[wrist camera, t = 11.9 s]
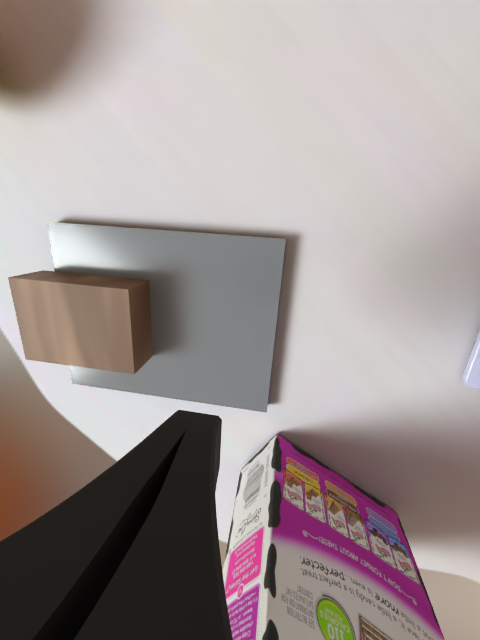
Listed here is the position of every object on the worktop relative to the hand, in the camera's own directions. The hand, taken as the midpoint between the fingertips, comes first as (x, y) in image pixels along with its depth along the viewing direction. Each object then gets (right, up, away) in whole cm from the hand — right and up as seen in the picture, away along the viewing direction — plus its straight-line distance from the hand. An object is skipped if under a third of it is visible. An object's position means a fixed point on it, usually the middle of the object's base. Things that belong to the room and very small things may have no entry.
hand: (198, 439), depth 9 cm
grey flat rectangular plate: (-3, +4, +10) cm, 11 cm away
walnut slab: (-4, +3, +8) cm, 10 cm away
